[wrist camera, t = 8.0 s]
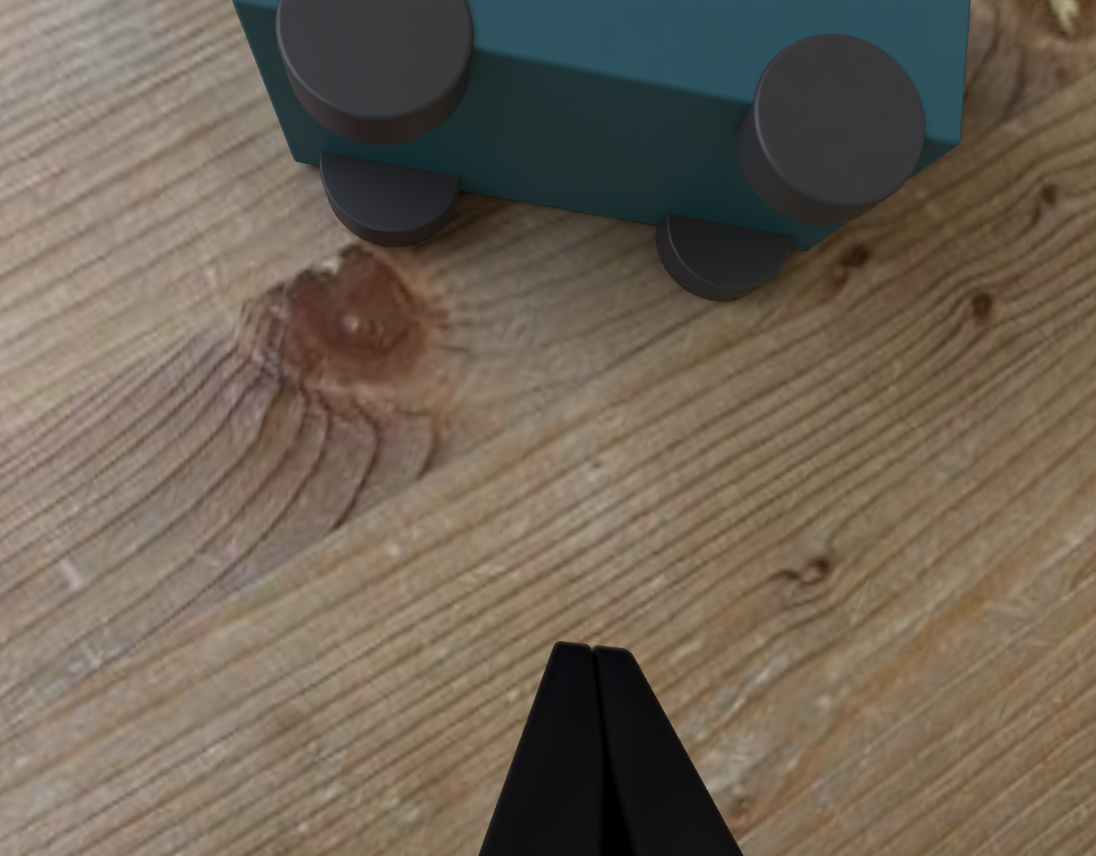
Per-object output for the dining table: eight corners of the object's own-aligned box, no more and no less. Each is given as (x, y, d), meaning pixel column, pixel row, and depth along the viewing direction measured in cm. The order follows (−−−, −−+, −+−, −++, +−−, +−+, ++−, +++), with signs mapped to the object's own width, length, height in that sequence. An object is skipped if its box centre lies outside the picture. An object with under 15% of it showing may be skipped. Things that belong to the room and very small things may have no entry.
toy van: (798, 315, 20) (830, -16, 21) (959, 227, 14) (993, -233, 15) (282, 228, 19) (343, -122, 20) (209, 89, 13) (303, -409, 14)
